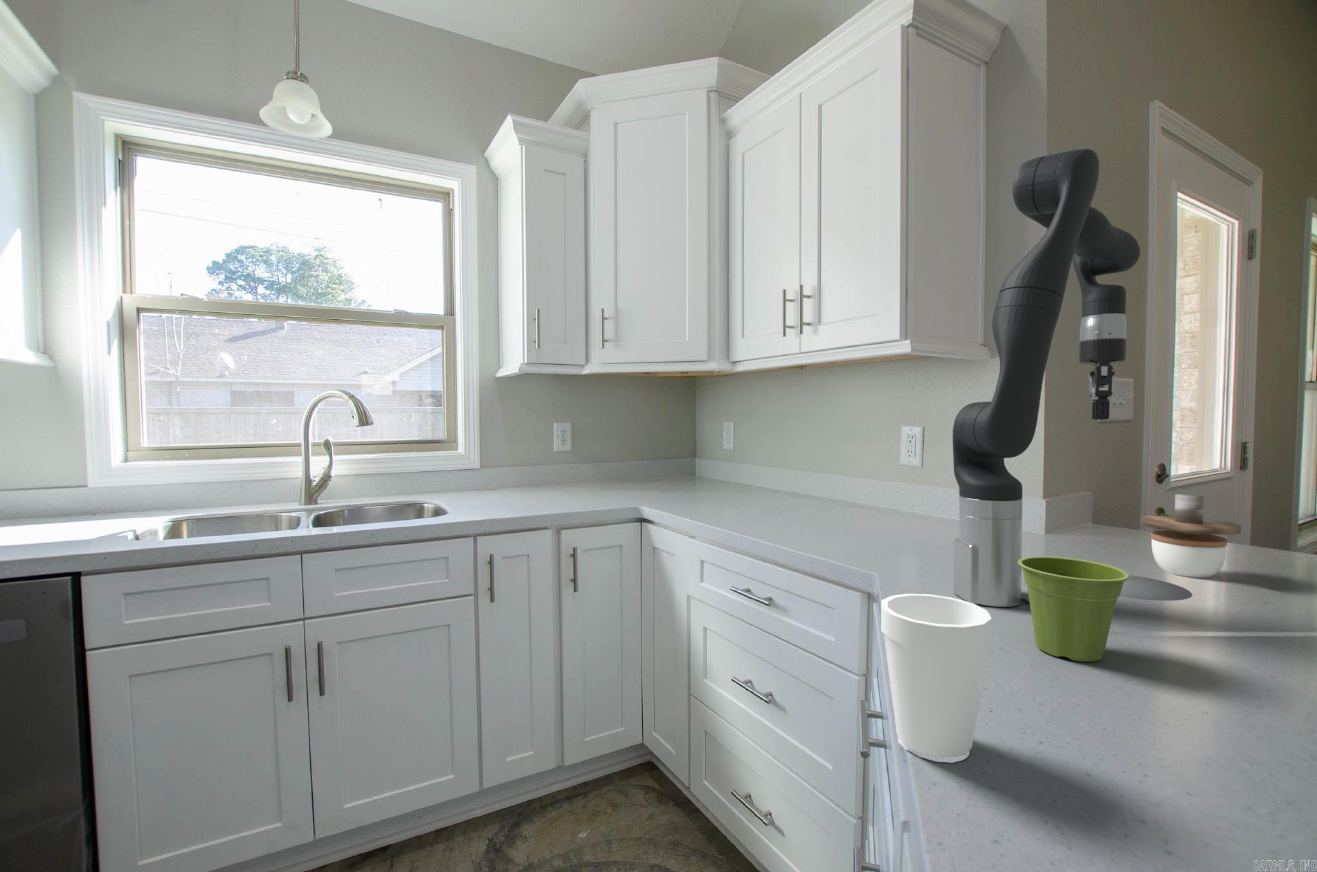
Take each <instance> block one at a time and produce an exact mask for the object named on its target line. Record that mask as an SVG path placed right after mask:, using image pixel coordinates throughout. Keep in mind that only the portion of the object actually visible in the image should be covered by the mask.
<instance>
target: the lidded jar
mask: <svg viewBox="0 0 1317 872" xmlns="http://www.w3.org/2000/svg"><path fill="white" fill-rule="evenodd" d="M1150 538H1151V551H1152V555H1153V559H1154V561H1155V562H1156V564H1157V566H1158V567H1159V568H1160V569H1162V570H1163V571H1164V572H1165V573H1168V574H1170V575H1174V576H1179V577H1185V578H1186V577H1188V578H1193V579H1209V578H1211V577H1213V576H1214V575H1216V574H1217V573H1219V571H1221V569H1222V568H1223V567H1224V564H1225V561H1226V556H1227V546H1228V540H1227V538H1225V537H1222V536H1220V535H1214V534H1197V533H1186V532H1177V531H1170V530H1163V529H1159V530H1154V531H1153V530H1152V531H1151V533H1150Z"/></svg>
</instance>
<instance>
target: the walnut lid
mask: <svg viewBox="0 0 1317 872" xmlns="http://www.w3.org/2000/svg"><path fill="white" fill-rule="evenodd" d="M1204 499H1205V495H1199V494H1198V495H1197V494H1188V493H1187V494H1185V493H1177V494H1175V496H1174V515H1144V516H1140V521H1139V523H1140V524H1141V525H1143V526H1145V527H1150V528H1153V529H1157V530H1158V529H1159V530H1170V531H1177V532H1186V533H1197V534H1211V535H1216V536H1220V535H1222V536H1223V535H1224V536H1225V535H1226V536H1230V535H1232V536H1233V535H1238V534H1241V533H1242V531H1241V530H1242V528H1241V527H1242V526H1240V525H1239V524H1238V523H1237V524H1236V523H1233V522H1229V521H1228V522H1227V521H1223V520H1216V519H1210V518H1204V504H1205V502H1204Z"/></svg>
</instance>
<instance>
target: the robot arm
mask: <svg viewBox="0 0 1317 872" xmlns="http://www.w3.org/2000/svg"><path fill="white" fill-rule="evenodd" d="M1099 173H1100V160H1099V156H1098V154H1097V153H1096V151H1094V150H1093V149H1091V148H1090V149H1089V148H1080V149H1074V150H1073V149H1072V150H1066V151H1063V152H1058V153H1053V154H1049V155H1042V156H1037V157H1034V158H1032V159H1029V160H1027V161H1025V162H1023V163H1021V165H1019V167H1018V169H1017V170H1016V172H1015V174H1014V179H1013V182H1012V198H1013V202H1014V205H1015V207H1016V208H1017V210H1018V211H1019V212H1020V213H1021V214H1022V215H1023V216H1025V217H1027V218H1028V219H1031V220H1032V221H1034V222H1036V223H1038V225H1041V226H1042V227H1044V228H1046V229H1047V230H1046V232H1045V233H1044V234H1043V236H1042V237H1041V238H1040V240H1039V241H1038V242H1037V243H1036V244H1035V245H1034V247H1032V248H1031V250H1029V251H1028V252H1027V254H1026V255H1024V256H1023V257H1022V258H1021V260H1020V261H1019V262H1018V263H1017V264H1016V265H1015V266H1014V267H1013V268H1012V269H1011V270H1010V272H1009V273H1008V274H1007V275H1006V277H1005V278H1004V279H1003V282H1002V283H1001V285H1000V288H999V292H998V295H997V299H996V303H995V307H994V311H993V314H992V321H991V327H992V328H991V329H992V333H993V335H992V336H993V339H994V342H995V346H996V349H997V352H998V353H997V354H998V357H999V371H998V377H997V382H996V385H995V391H994V393H993V396H992V398H991V401H976V402H971V403H968V404H966V405H964V406H963V407H962V408H961V409H960V410H959V411H958V413H957V414H956V416H955V418H954V422H953V426H952V427H953V428H952V457H953V473H954V478H955V480H956V483H957V485H958V493H959V494H958V495H959V499H958V500H959V506H958V508H959V509H958V511H959V512H958V515H959V516H958V518H959V519H958V526H959V527H958V538H954V540H953V594H954V595H957V596H958V597H960V598H961V599H962V600H963V601H966V602H970V603H973V604H975V605H983V606H988V607H989V606H991V607H1001V608H1003V607H1004V608H1005V607H1006V608H1007V607H1015V606H1018V605H1021V604H1022V592H1023V590H1022V589H1023V588H1022V584H1023V581H1022V575H1023V574H1022V573H1023V568H1022V567H1021V566H1020V565H1019V564H1018V560H1020V559H1022V558H1023V485H1022V482H1021V481H1020V480H1019V479H1018V478H1016V477H1015V476H1014V475H1012V474H1011V473H1010V472H1009V470H1008V469H1007V467H1006V465H1005V459H1012V458H1016V457H1018V456H1020V455H1022V454H1024V453H1025V451H1026V450H1027V449H1029V446H1030V445H1031V444H1032V442H1033V440H1034V437H1035V434H1036V431H1037V429H1036V428H1037V424H1038V418H1039V412H1040V411H1039V410H1040V405H1041V404H1040V403H1041V396H1042V389H1043V382H1044V377H1045V376H1044V375H1045V371H1046V368H1047V363H1048V359H1049V354H1050V349H1051V346H1052V341H1053V336H1054V334H1055V333H1054V332H1055V331H1056V326H1057V323H1058V320H1059V317H1060V313H1061V309H1062V306H1063V301H1064V298H1065V294H1066V288H1067V283H1068V278H1069V275H1070V271H1071V268H1072V265H1073V269H1074V271H1075V274H1076V275H1075V276H1076V278H1077V280H1078V283H1079V284H1078V285H1079V288H1080V293H1081V321H1080V328H1079V342H1078V343H1079V346H1078V347H1079V351H1078V361H1079V362H1078V363H1080V364H1083V365H1093V370H1091V371H1090V372H1088V382H1089V389H1088V390H1089V393H1090V400H1091V402H1092V405H1091V419H1093V420H1094V421H1097V420H1100V421H1101V420H1102V421H1104V420H1105V421H1106V420H1109V418H1110V406H1111V405H1110V404H1111V403H1110V401H1111V399H1112V395H1113V391H1114V387H1115V386H1114V384H1115V383H1114V381H1115V376H1116V374H1115V371H1113V370H1114V366H1113V365H1112V364H1117V363H1118V364H1119V363H1123V362H1124V361H1125V360H1126V359H1127V330H1128V326H1127V319H1126V311H1127V309H1126V308H1127V307H1126V306H1127V305H1126V304H1127V291H1126V288H1125V287H1124V286H1122V285H1120V284H1107V283H1106V284H1104V283H1102V284H1101V283H1099V282H1098V281H1097V278H1096V277H1098V276H1103V275H1104V276H1105V275H1110V274H1111V275H1112V274H1117V273H1123V272H1126V271H1129V270H1131V269H1132V268H1133V267H1134V266H1135V265H1136V264H1137V263H1138V262H1139V259H1140V255H1141V248H1140V245H1139V242H1138V241H1137V239H1136V238H1135V236H1134V235H1132V234H1131V233H1129V232H1127V231H1125V230H1123V229H1121V228H1118V227H1116V226H1114V225H1112V224H1111V222H1110V221H1109V219H1108V218H1107V217H1106V215H1105V214H1104V213H1103V212H1101V211H1100V210H1098V209H1097V208H1096V207H1093V206H1091V205H1092V201H1093V198H1094V195H1095V193H1096V189H1097V185H1098V181H1099V177H1100V176H1099Z"/></svg>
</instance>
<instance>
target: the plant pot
mask: <svg viewBox="0 0 1317 872" xmlns="http://www.w3.org/2000/svg"><path fill="white" fill-rule="evenodd" d="M1018 564H1019V565H1020V566H1021V567H1022V573H1023V579H1024V583H1025V584H1026V588H1027V589H1026V590H1027V594H1028V600H1029V606H1030V614H1031V620H1032V627H1033V636H1034V641H1035V645H1036V646H1037V648H1038V649H1040V650H1041V651H1042V652H1045V653H1046V654H1048V655H1051V656H1053V657H1058V658H1059V657H1065V658H1068V659H1069V660H1072V661H1075V662H1079V663H1080V662H1081V663H1082V662H1084V663H1085V662H1090V663H1092V662H1093V663H1094V662H1098V661H1100V660H1102V659H1103V656H1104V654H1105V651H1106V645H1107V642H1108V638H1109V633H1110V629H1111V625H1112V623H1113V622H1112V621H1113V617H1114V613H1115V608H1116V605H1117V604H1116V603H1117V601H1118V598H1120V597H1121V596H1120V593H1121V589H1122V586H1123V582H1124V581H1126V580H1128V579H1129V575H1130V574H1129V573H1128V572H1126V571H1125V570H1123V569H1121V568H1119V567H1116V566H1112V565H1109V564H1105V563H1101V562H1095V561H1090V560H1084V559H1078V558H1073V557H1063V556H1062V557H1060V556H1027V557H1022V559H1020V560H1018Z"/></svg>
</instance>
